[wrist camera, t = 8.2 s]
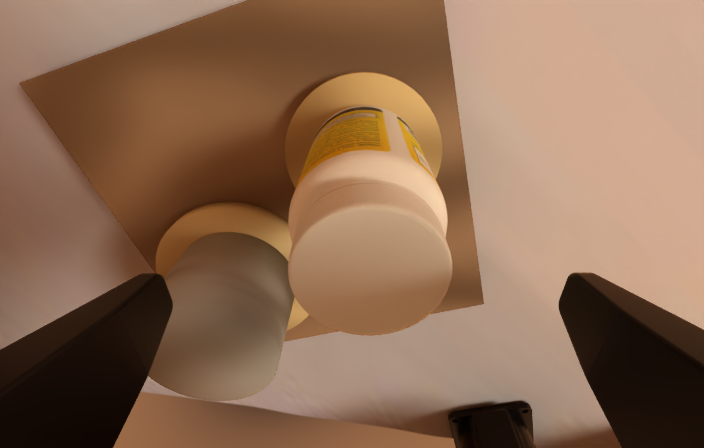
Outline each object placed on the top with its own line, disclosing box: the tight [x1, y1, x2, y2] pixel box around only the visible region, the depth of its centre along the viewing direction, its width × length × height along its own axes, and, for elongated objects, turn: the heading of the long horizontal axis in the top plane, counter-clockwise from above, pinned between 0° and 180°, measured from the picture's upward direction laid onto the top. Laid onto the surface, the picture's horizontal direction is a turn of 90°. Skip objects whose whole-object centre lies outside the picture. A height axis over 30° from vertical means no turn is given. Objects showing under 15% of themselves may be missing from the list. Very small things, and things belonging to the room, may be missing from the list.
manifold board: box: [20, 0, 484, 401], centre depth 16 cm, size 18×18×7 cm
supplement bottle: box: [288, 105, 452, 335], centre depth 12 cm, size 5×5×8 cm
